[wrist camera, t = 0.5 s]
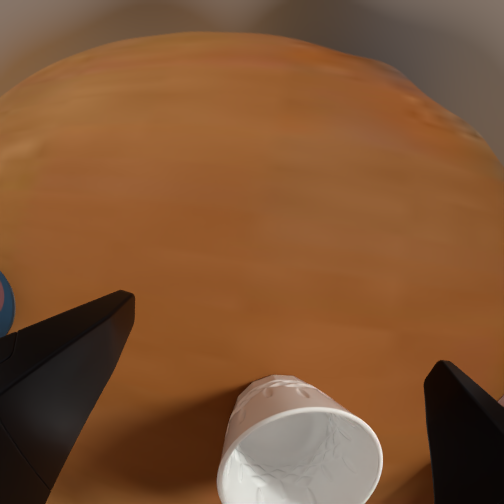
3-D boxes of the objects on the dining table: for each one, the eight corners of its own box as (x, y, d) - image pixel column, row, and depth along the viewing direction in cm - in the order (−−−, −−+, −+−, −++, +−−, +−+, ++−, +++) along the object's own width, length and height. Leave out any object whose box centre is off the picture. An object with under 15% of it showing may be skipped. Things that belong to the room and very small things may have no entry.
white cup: (307, 468, 21) (343, 541, 11) (210, 445, 21) (197, 521, 11) (343, 380, 22) (407, 421, 12) (243, 352, 22) (248, 387, 12)
